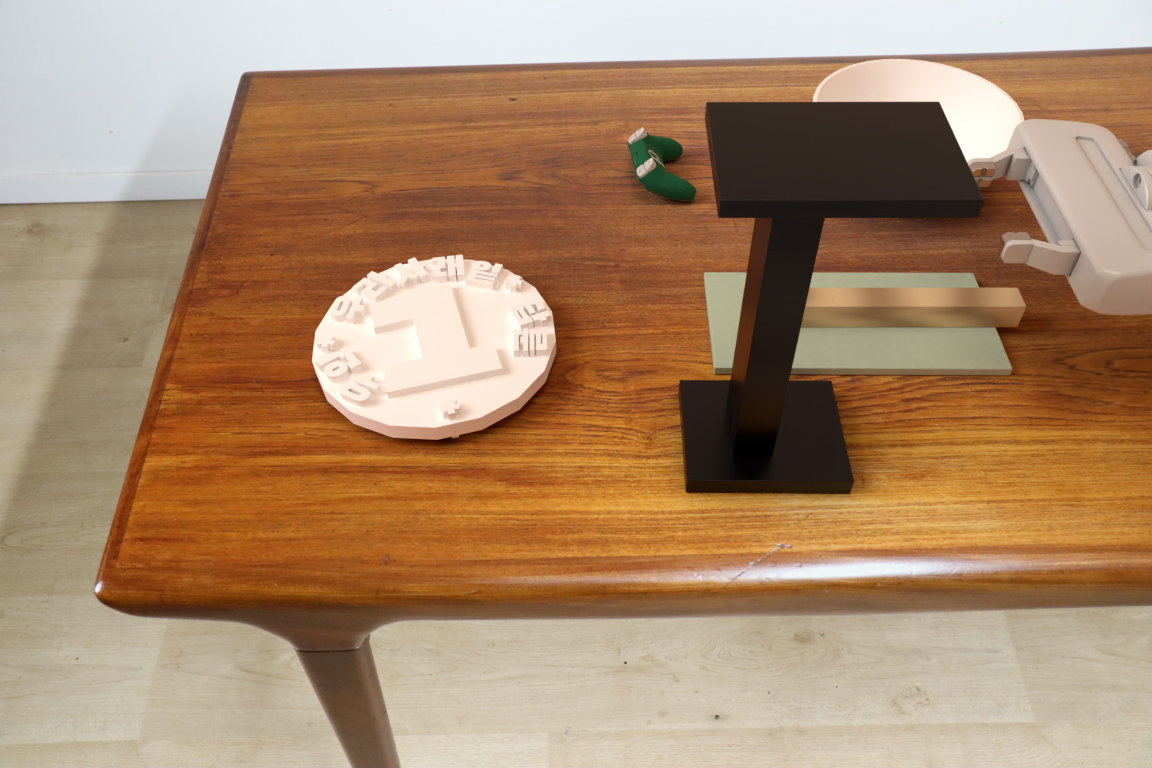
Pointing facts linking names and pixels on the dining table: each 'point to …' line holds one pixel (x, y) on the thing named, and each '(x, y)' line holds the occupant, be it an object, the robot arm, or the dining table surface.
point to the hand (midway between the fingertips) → (984, 208)
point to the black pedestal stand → (803, 272)
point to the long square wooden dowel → (913, 307)
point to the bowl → (933, 98)
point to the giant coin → (434, 348)
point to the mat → (864, 333)
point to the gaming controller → (658, 165)
